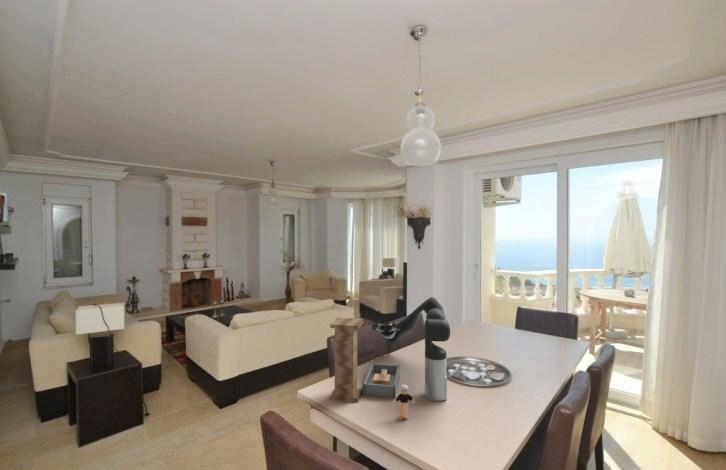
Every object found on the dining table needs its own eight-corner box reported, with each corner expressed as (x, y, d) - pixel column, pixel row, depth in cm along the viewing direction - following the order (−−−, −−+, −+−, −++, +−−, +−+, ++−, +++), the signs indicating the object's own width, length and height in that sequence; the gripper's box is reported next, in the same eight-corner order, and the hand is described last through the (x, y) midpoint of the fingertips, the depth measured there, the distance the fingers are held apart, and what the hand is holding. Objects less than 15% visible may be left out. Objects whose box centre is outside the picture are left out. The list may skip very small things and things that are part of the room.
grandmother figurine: (396, 422, 126) (396, 388, 126) (393, 416, 129) (393, 383, 129) (415, 419, 128) (415, 385, 128) (411, 413, 131) (411, 381, 131)
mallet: (391, 374, 166) (391, 366, 166) (388, 390, 149) (388, 381, 149) (377, 373, 167) (377, 365, 167) (373, 388, 150) (373, 379, 150)
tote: (399, 375, 167) (399, 365, 167) (395, 398, 144) (395, 386, 144) (372, 373, 170) (372, 363, 170) (363, 395, 146) (363, 383, 146)
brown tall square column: (363, 389, 152) (363, 318, 152) (357, 402, 140) (357, 325, 140) (337, 387, 154) (337, 317, 154) (330, 399, 143) (330, 324, 143)
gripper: (401, 337, 182) (398, 332, 167) (375, 337, 184) (370, 332, 170) (400, 323, 185) (398, 317, 171) (375, 323, 187) (370, 317, 173)
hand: (384, 324), depth 170 cm, fingers open, 8 cm apart
